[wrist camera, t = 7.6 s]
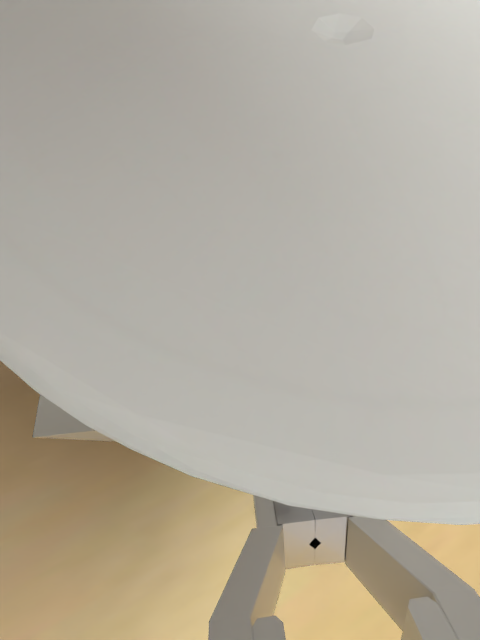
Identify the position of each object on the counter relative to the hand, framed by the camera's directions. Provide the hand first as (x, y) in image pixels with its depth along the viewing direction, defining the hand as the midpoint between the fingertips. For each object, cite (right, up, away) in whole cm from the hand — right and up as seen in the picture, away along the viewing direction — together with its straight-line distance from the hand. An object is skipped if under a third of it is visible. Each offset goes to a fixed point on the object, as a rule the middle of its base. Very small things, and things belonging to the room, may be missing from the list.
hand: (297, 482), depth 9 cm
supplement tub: (0, +2, +8) cm, 8 cm away
